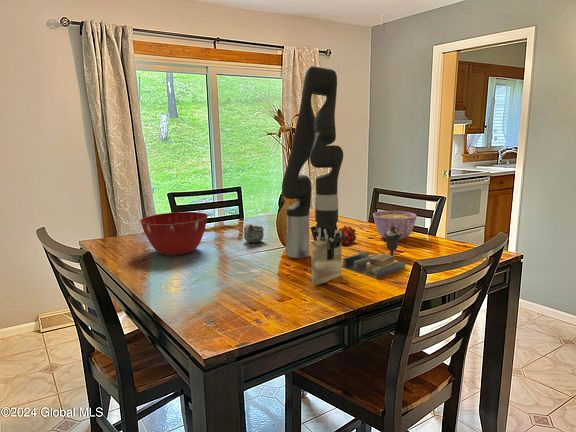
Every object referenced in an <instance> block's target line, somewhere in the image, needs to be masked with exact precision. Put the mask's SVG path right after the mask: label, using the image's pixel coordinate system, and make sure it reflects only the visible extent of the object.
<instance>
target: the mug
mask: <svg viewBox="0 0 576 432" xmlns="http://www.w3.org/2000/svg"><path fill="white" fill-rule="evenodd" d="M264 230H265V227H264V226H262V225H252V223H246V224H245V225H244V228H243V232H244V233H243V234H244V235H243V239H244V240H245V241H246V242H247V243H251V244H259V243H260V242H261V241H262V240H263V238H264V237H265V236H264Z"/></svg>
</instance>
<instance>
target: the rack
mask: <svg viewBox="0 0 576 432" xmlns="http://www.w3.org/2000/svg"><path fill="white" fill-rule="evenodd" d="M376 255H379V254H374V255H371V256H370V252H369V251H363V252H360V253H357V254H356V253H355V254H353V255H349V256H346V257H342V265H341V269H342V268H343V269H346V270H349V271H352V272H355V273H358V274H362V275H365V276H368V277H372V278H374V279H379V278H381V277H384V276H387V275H390V274H392V273H396V272H399V271H401V270H404V269H406V260H405V261H404V260H402V261H400V262H398V263H397V264H394V265H391V266H388V267H385V268H382V269H379V270H376V271H375V274H373V273H370V272H367V271H366V263H368V262H370V258H372V257H374V256H376Z"/></svg>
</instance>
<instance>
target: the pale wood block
mask: <svg viewBox="0 0 576 432" xmlns="http://www.w3.org/2000/svg"><path fill="white" fill-rule="evenodd" d="M330 239H331V238H330ZM331 245H332V244H331ZM310 246H311V249H310V250H311V262H310V263H311V283H312V284H314V285H317V286H319V285H322V284H324V283H325V284H326V283H328V282H331V281H332V279H336V278H339V277H342V267H341V266H342V244H341V243H340V246H339V247H338V248H335V249H334V258H333V259H332V260H328V259H327V249H328V247H327V242H326V240H325V239H322V240H318V239H317V241H314V240H313V241H311V244H310Z"/></svg>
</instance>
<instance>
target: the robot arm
mask: <svg viewBox="0 0 576 432" xmlns="http://www.w3.org/2000/svg"><path fill="white" fill-rule="evenodd" d="M302 85H303V86H302V91H301V99H300V106H299V110H298V111H299V112H298V116H297V120H296V124H295V129H294V132H293V138H292V142H291V143H292V144H291V149H290V153H289V159H288V161H287V166H286V169H285V171H284V175H283V178H282V182H281V193H282V195H283V197H284V198H285V199H287V200H295V201H294V203H293V204H291V205H290V206H288V207H287V208H286V232H285V255H287V257H288V258H291V259H292V258H293V259H305V258H309V257H310V250H311V249H310V246H311V244H310V231H311V234H312V239H313V241H317V240H322V239H325V240H326V242H327V247H328V249H327V259H328V260H332V259H333V258H334V249H335V248H338V247H339V246H340V243H341V240H342V238H343V235H344V233H343V232H340V231H338V230H339V229H338V226H337V224H338V221H339V198H338V195H339V194H338V186H339V185H338V183H339V182H338V181H339V174H340V170H341V167H342V165H343V160H344V150H343V149H342V147H341V146H339V145H334V144H333V143H334V142H336V138H337V133H336V132H337V131H336V115H335V114H336V105H337V104H336V103H337V90H338V76H337V73H336V71H335V70H334V69H332V68H326V67H319V66H314V65H311V66H308V67H307V69H306V71H305V74H304V79H303V84H302ZM313 95H314V96H315V95H316V96H322V97H326V99H325V101H324V103H323V105H322V106H321V108H319V109H318V111H317V113H316V115H315V114H314V111H313V106H312V105H313V104H312V96H313ZM332 144H333V145H332ZM308 160H309V161H310V162H309V163H310V164H311V165H312V166H313V167H314V168H315V169H328V168H331V169H330V171H329V172H328V173H325V174H322V175H318V176H317V177H316V178H315V200H314V221H315V222H316V225H315V226H310V210H311V206H312V205H311V204H312V202H311V201H312V183H311V180H310V178H309V176H308V175H305V174H300V172H301V170H302V168H303V166H304V165H305V164H306V162H307V161H308ZM330 238H331V239H330ZM331 244H332V245H331Z"/></svg>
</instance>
